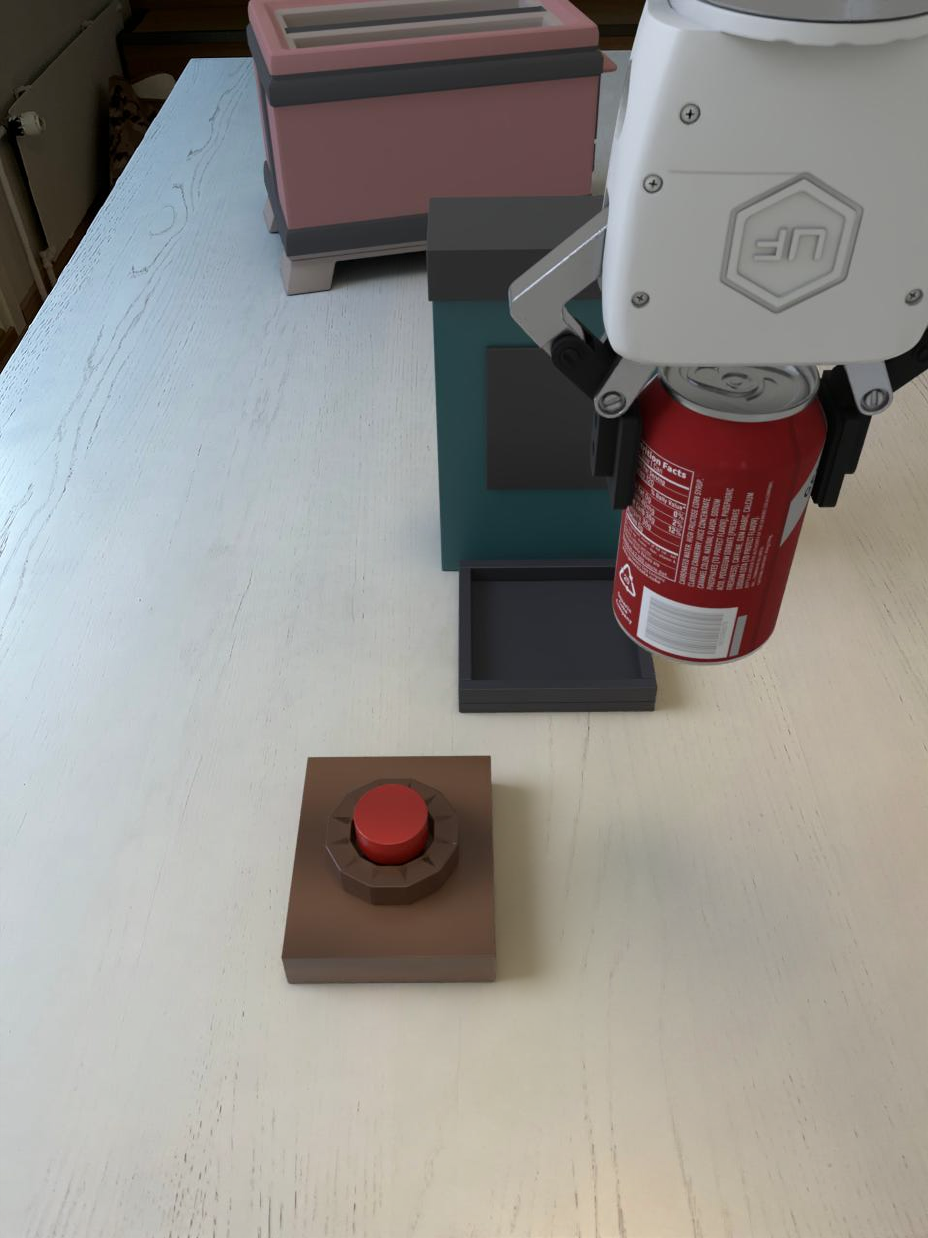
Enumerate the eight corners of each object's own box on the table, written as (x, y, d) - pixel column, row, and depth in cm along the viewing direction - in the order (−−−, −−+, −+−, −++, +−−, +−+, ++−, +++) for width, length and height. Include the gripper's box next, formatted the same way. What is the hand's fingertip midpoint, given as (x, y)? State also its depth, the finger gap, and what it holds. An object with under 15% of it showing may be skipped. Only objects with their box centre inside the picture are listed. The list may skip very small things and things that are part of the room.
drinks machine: (651, 572, 74) (697, 246, 58) (438, 574, 74) (426, 249, 58) (639, 510, 79) (679, 193, 63) (440, 512, 79) (429, 196, 63)
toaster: (628, 251, 108) (650, 24, 94) (286, 295, 103) (255, 60, 88) (568, 177, 122) (579, -32, 108) (263, 212, 116) (232, -4, 102)
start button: (427, 865, 53) (426, 844, 52) (353, 865, 53) (350, 844, 52) (429, 804, 56) (428, 783, 54) (359, 805, 56) (356, 784, 54)
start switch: (495, 982, 52) (495, 939, 50) (287, 983, 52) (276, 940, 50) (490, 782, 61) (490, 736, 58) (312, 783, 61) (304, 737, 58)
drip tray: (654, 711, 65) (657, 688, 63) (458, 712, 65) (458, 689, 63) (632, 580, 73) (635, 558, 72) (459, 582, 73) (458, 559, 72)
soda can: (734, 702, 43) (797, 449, 34) (582, 637, 45) (605, 386, 37) (796, 601, 47) (866, 353, 38) (653, 547, 49) (689, 303, 41)
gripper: (493, -14, 26) (488, 553, 38) (1221, -22, 26) (980, 548, 38) (486, -87, 31) (483, 431, 44) (1090, -94, 31) (915, 427, 44)
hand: (716, 483), depth 41 cm, fingers closed on soda can, 6 cm apart
